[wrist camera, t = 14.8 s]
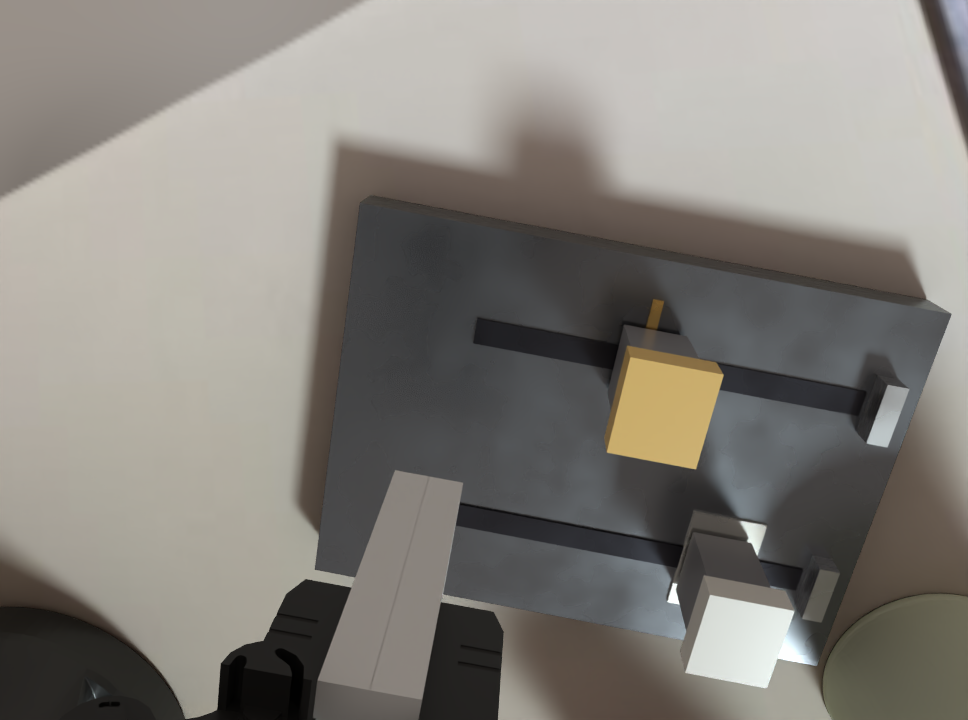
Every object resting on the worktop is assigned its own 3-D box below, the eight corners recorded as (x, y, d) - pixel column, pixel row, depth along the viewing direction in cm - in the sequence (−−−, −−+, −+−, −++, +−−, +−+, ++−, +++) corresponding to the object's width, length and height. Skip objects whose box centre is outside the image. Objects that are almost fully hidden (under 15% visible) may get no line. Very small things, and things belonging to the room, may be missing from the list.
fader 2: (666, 594, 34) (685, 672, 30) (687, 524, 33) (710, 594, 29) (737, 607, 34) (766, 688, 30) (760, 538, 33) (794, 611, 29)
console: (326, 544, 37) (308, 582, 35) (370, 195, 32) (354, 207, 29) (802, 636, 37) (824, 682, 34) (927, 299, 32) (964, 321, 29)
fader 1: (598, 398, 32) (606, 452, 27) (617, 315, 31) (630, 357, 26) (674, 413, 32) (696, 469, 27) (697, 330, 31) (723, 374, 26)
